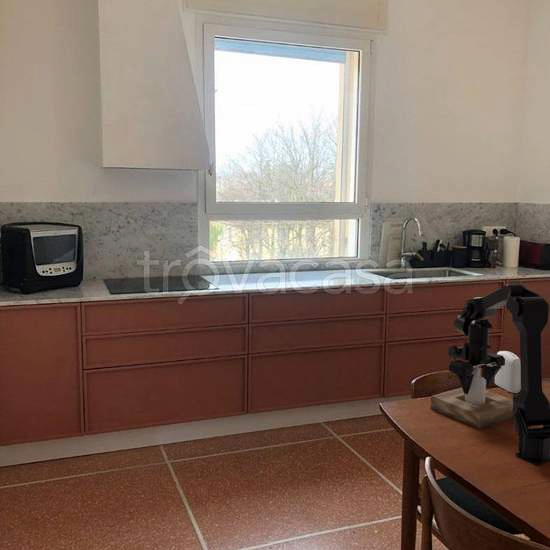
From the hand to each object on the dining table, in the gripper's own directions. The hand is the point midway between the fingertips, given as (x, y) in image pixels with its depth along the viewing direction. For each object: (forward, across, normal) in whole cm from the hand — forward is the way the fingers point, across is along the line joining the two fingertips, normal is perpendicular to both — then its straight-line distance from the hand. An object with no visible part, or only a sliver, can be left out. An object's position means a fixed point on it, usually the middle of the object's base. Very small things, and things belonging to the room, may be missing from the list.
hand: (475, 391), depth 177 cm
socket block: (+6, 0, 0) cm, 6 cm away
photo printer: (+7, -26, -8) cm, 28 cm away
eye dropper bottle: (+4, 0, 0) cm, 4 cm away
